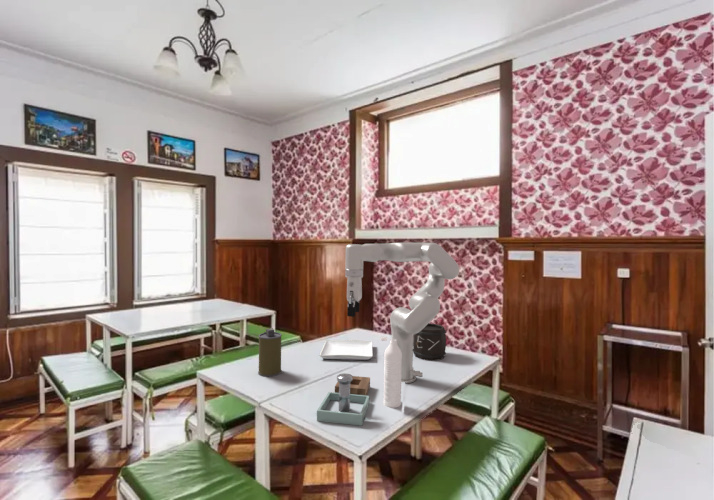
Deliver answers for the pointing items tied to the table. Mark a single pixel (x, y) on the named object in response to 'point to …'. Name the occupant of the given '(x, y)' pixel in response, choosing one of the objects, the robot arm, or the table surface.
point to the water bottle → (392, 374)
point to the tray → (342, 416)
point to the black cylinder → (430, 342)
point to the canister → (269, 353)
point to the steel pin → (344, 391)
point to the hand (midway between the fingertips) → (353, 314)
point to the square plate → (347, 350)
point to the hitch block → (357, 385)
